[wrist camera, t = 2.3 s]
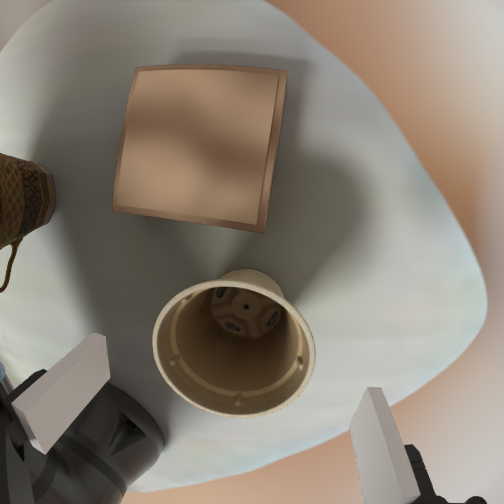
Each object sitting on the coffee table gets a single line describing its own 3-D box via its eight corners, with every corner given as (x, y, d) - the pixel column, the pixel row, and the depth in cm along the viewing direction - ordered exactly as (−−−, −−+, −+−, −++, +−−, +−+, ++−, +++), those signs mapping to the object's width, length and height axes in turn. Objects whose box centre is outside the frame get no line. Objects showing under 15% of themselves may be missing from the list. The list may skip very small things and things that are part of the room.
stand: (265, 226, 22) (262, 234, 18) (135, 206, 23) (110, 211, 19) (286, 89, 20) (287, 69, 16) (155, 82, 20) (134, 66, 17)
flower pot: (194, 240, 23) (149, 268, 15) (312, 254, 22) (331, 292, 14) (190, 342, 25) (156, 402, 17) (294, 357, 24) (297, 425, 16)
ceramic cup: (8, 169, 23) (-56, 172, 14) (61, 134, 22) (-15, 124, 12) (28, 275, 26) (-34, 303, 16) (84, 261, 24) (10, 294, 15)
